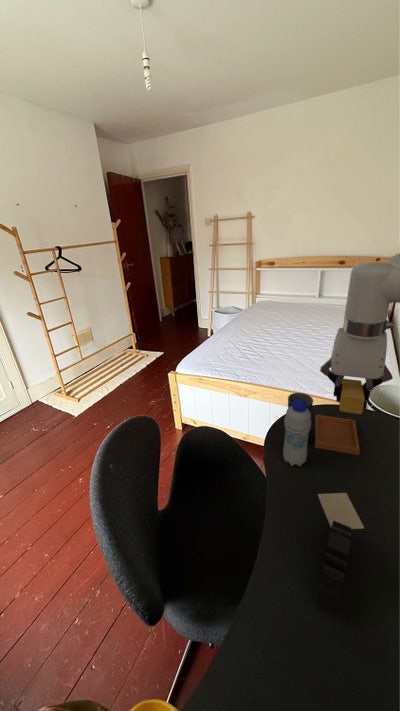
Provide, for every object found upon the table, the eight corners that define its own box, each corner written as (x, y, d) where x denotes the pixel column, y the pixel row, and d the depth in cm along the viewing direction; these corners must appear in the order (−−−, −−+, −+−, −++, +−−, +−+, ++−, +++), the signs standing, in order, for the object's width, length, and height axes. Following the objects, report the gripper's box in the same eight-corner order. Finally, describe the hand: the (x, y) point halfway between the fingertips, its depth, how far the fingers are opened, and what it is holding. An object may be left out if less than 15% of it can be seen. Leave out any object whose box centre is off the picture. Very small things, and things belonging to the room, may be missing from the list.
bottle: (309, 456, 85) (316, 397, 76) (303, 472, 79) (310, 412, 71) (285, 448, 88) (289, 391, 79) (278, 464, 83) (282, 405, 74)
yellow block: (338, 392, 73) (340, 378, 71) (358, 394, 71) (361, 380, 70) (339, 411, 66) (342, 396, 65) (361, 414, 65) (364, 399, 63)
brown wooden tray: (315, 419, 99) (315, 414, 98) (353, 425, 95) (354, 420, 94) (314, 447, 87) (315, 442, 87) (358, 455, 84) (359, 449, 83)
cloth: (346, 493, 73) (346, 492, 73) (364, 528, 65) (364, 527, 65) (317, 494, 73) (317, 494, 73) (331, 530, 65) (331, 529, 65)
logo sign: (332, 527, 66) (338, 492, 61) (349, 534, 64) (357, 498, 59) (313, 613, 52) (320, 577, 47) (335, 625, 50) (344, 589, 45)
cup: (285, 446, 89) (288, 405, 82) (285, 431, 94) (287, 391, 88) (309, 449, 87) (314, 407, 80) (307, 433, 93) (312, 393, 86)
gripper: (407, 322, 61) (389, 396, 69) (319, 317, 67) (311, 387, 75) (416, 336, 55) (395, 416, 62) (318, 329, 60) (310, 403, 68)
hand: (350, 399), depth 68 cm, fingers closed on yellow block, 4 cm apart
